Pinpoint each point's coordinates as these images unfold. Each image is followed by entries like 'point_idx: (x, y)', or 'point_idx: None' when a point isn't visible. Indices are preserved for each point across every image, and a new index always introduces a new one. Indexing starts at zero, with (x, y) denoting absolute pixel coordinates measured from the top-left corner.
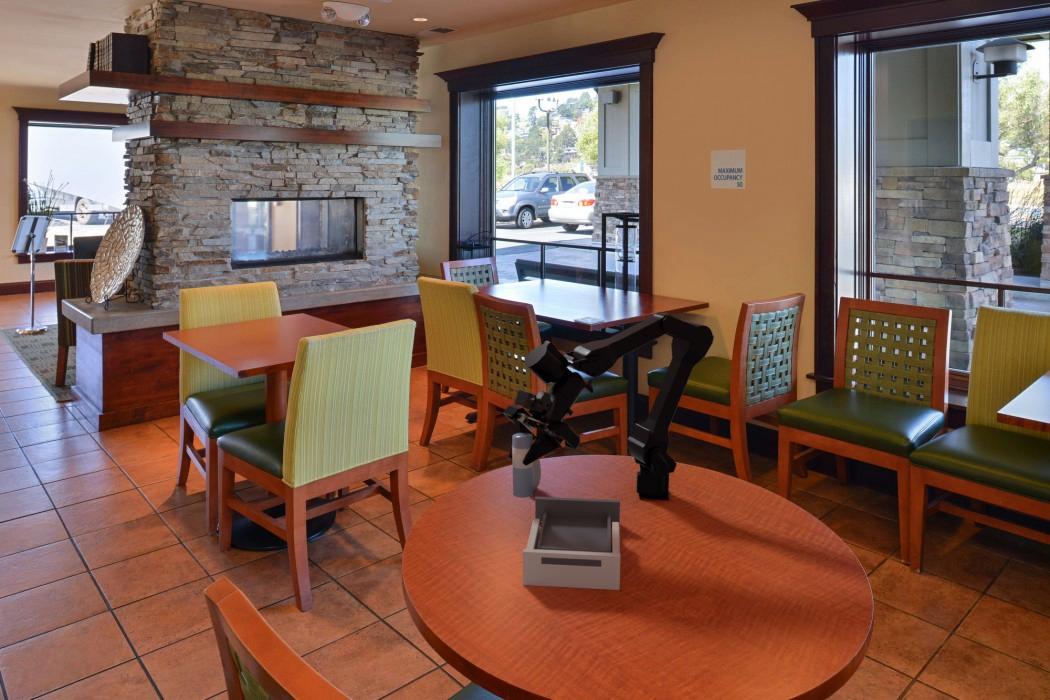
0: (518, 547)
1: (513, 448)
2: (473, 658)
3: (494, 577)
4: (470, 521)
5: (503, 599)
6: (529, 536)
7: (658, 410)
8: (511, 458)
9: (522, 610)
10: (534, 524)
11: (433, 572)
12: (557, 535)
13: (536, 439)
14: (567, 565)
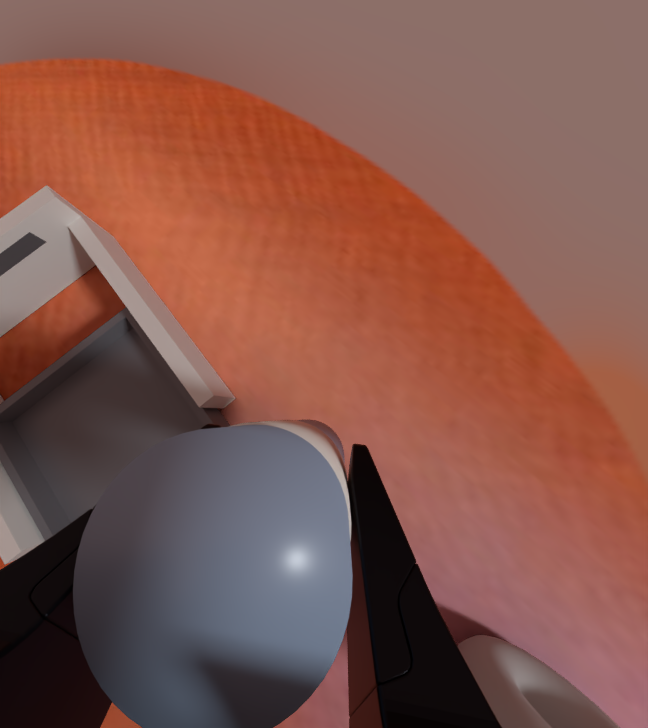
0: (228, 339)
1: (283, 426)
2: (39, 61)
3: (174, 218)
4: (421, 352)
5: (108, 181)
6: (146, 306)
7: None
8: (351, 454)
9: (61, 182)
10: (185, 368)
11: (274, 150)
12: (169, 426)
13: (15, 621)
14: None
